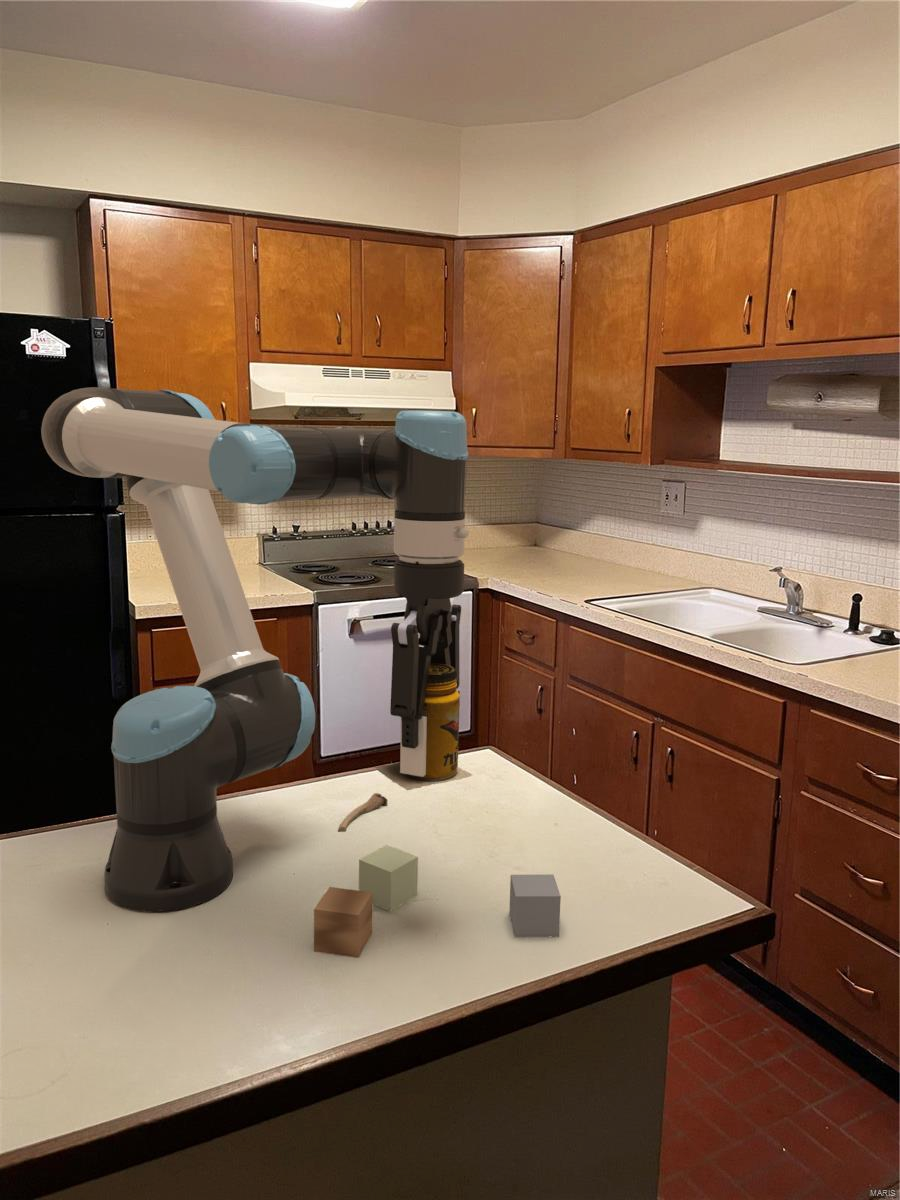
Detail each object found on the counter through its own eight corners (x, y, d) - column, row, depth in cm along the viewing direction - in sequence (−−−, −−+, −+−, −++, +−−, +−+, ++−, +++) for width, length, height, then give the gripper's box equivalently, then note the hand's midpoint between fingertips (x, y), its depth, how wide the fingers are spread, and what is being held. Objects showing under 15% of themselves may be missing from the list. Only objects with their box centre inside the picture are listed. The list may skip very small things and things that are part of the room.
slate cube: (514, 937, 101) (515, 896, 100) (509, 914, 106) (510, 874, 105) (558, 937, 101) (560, 896, 100) (551, 913, 106) (553, 874, 105)
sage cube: (358, 898, 109) (359, 859, 108) (386, 882, 112) (386, 844, 112) (390, 911, 106) (390, 872, 105) (417, 895, 110) (418, 856, 109)
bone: (328, 830, 127) (328, 816, 127) (374, 803, 137) (374, 790, 136) (343, 835, 126) (343, 821, 125) (388, 807, 135) (388, 794, 135)
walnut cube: (314, 951, 97) (313, 909, 96) (329, 927, 102) (329, 886, 101) (358, 958, 96) (358, 915, 95) (372, 933, 101) (372, 892, 100)
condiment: (473, 776, 100) (476, 671, 97) (407, 792, 95) (409, 681, 93) (437, 756, 106) (439, 657, 103) (373, 769, 101) (374, 665, 99)
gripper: (425, 572, 86) (421, 800, 91) (492, 550, 104) (486, 742, 108) (355, 566, 89) (355, 787, 93) (432, 546, 106) (429, 733, 111)
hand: (425, 763), depth 101 cm, fingers closed on condiment, 6 cm apart
